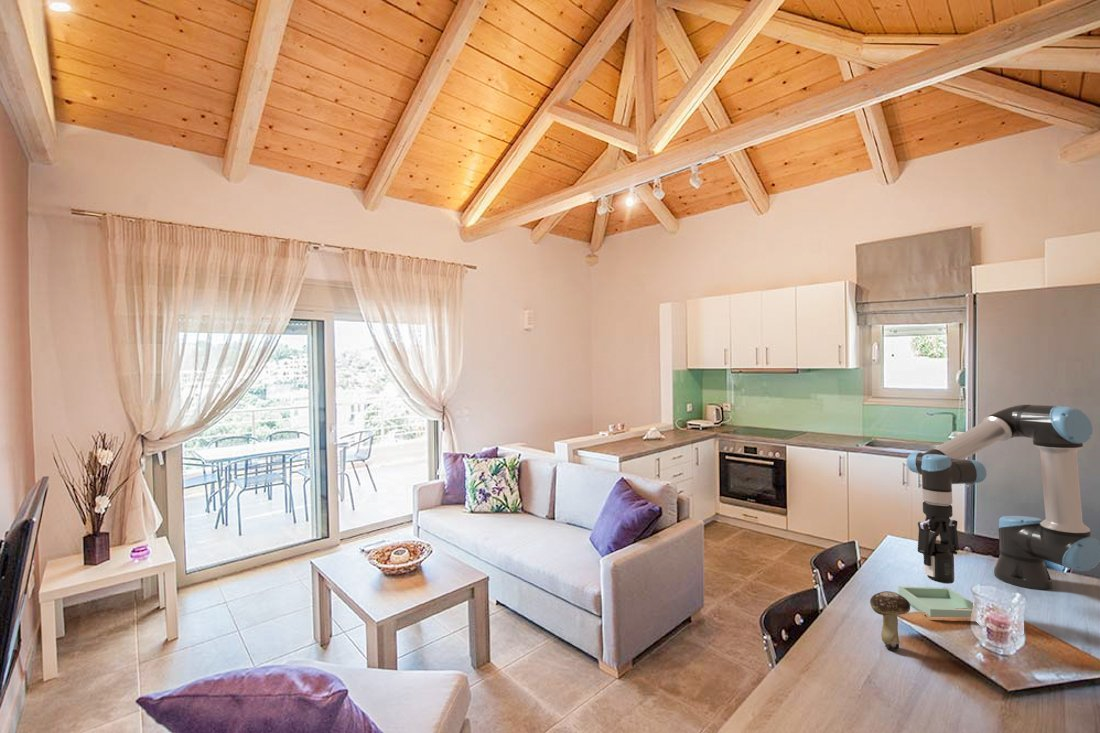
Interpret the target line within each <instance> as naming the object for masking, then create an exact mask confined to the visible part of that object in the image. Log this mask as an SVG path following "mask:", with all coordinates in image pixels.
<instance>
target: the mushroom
mask: <svg viewBox="0 0 1100 733" xmlns="http://www.w3.org/2000/svg"><path fill="white" fill-rule="evenodd" d="M869 601H870V602H869V603H870V607H871V610H872V611H874V612H875V613H876V614H878V615H881V616H882V627H881V628H882V629H881V635H880V636H881V640H882V642H883V644H884V646H885V649H887V650H889V651H895V652H896V651H897V652H898V650H899V649H900V639H899V628H898V626H899V619H898V616H900V615H905V614H908V613H909V612H910V611H911V606H910V603H909V602H908V601H907V599H905V598H904V597H902V596H901V595H899V593H897V592H895V591H891V590H889V591H888V590H885V591H884V590H883V591H881V592H878V593H875V594H873V595H872V596H871V598H870V600H869Z"/></svg>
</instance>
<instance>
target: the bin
mask: <svg viewBox="0 0 1100 733" xmlns="http://www.w3.org/2000/svg"><path fill="white" fill-rule="evenodd" d="M897 591H898V594H899V595H901V596H902V597H904V598H905V599H907V601H908V602H909V603H910V607H912V608H913V609H914V610H916V611H917V612H918V611H922V612H925V613H926V614H928V615H929V616H930V617H970V616H971V613H972V607H973V603H974V602H972V601H971V600H969V599H968V598H966V597H964V596H962V595H960V593H958V592H956V591H955V590H952V589H951V588H949V587H928V586H927V587H926V586H925V587H923V586H901V585H900V586H899V585H898V590H897ZM955 608H968V609H955Z"/></svg>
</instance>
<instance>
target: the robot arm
mask: <svg viewBox="0 0 1100 733" xmlns="http://www.w3.org/2000/svg"><path fill="white" fill-rule="evenodd" d="M1092 424H1093V423H1092V421H1091V419H1090V418H1089V416H1088V415H1087V414H1086V413H1085V412H1083V410H1080V409H1078V408H1076V407H1072V406H1071V407H1069V406H1063V405H1042V404H1040V405H1039V404H1038V405H1036V404H1035V405H1034V404H1019V405H1018V404H1017V405H1013V406H1010V407H1007V408H1003V409H1001V410H999V411H997V412H994V413H992V414H989V415H988V416H985V417H984V418H983V419H982V421H981V423H979V424H977V425H975V426H973V427H972V428H969V429H968V430H966V431H964V432H962V433H960V434H958V435H957V436H954V437H953V438H951V439H948V440H947V441H945V442H943V443H942V444H941V443H940V444H939V445H938V446H935V447H933V448H932V449H930V450H926V452H919V451H918V452H912V453H909V455H908V456H907V459H906V466H907V468H908V470H910V471H911V472H913V473H915V474H919V475H921V481H922V482H921V483H922V486H921V487H922V501H923V502H922V513H923V514H925V520H924V521H918V522H917V526H918V536H917V537H918V538H917V539H918V540H917V552H918V553H920V554H922V555H923V564H924V574H925V575H929V576H932V577H935V556H932V554H933V550H934V546H935V542H936V540H937V538H938V537H939V536H940V540H941V541H945V542H948V543H949V545H950V550H949V551H950V552H951V553H952V554H953V555H957V554H958V551H959V550H960V546H959V536H958V521H957V520H956V519H955V520H954V519H951V518H952V517H953V505H952V504H953V485H964V484H965V485H966V484H970V485H973V484H977V483H978V484H979V483H982V482H984V481H985V480H986V477H987V469H986V467H985V466H984V464H983V463H981V462H980V461H979V460H975V459H968V457H972V456H973V455H975V454H977V453H979V452H981V451H983V450H985V449H986V448H988V447H990V446H992V445H994V444H996V443H997V442H999V441H1000V442H1002V441H1004V442H1005V441H1009V440H1010V439H1012V438H1021V437H1022V438H1029V439H1032V445H1033V447H1035V448H1037V449H1038V450H1039V456H1040V464H1041V467H1040V468H1041V478H1042V490H1043V491H1042V492H1043V502H1044V504H1043V505H1044V513H1045V519H1044V520H1043V519H1042V518H1039V517H1034V516H1026V515H1025V516H1024V515H1003V516H1001V517H1000V518H999V519H998V540H999V541H998V542H999V557H998V559H997V561H996V564H995V566H994V569H993V574H994V577H995V578H996V579H999V580H1000V581H1002V582H1004V583H1008V584H1011V585H1014V586H1018V587H1022V588H1026V589H1027V588H1028V589H1034V590H1050V589H1052V588H1053V581H1052V580H1053V579H1052V578H1051V575H1050V573H1049V570H1048V569H1047V566H1046V563H1045V561H1046V562H1047V561H1048V562H1051V563H1053V564H1055V565H1059V566H1062V567H1064V568H1066V569H1067V568H1068V569H1071V570H1075V571H1080V572H1087V571H1091V570H1093V569H1094V568H1096V567H1097V566H1098V564H1100V541H1099V540H1098V539H1097V538H1095V537H1093V536H1092V535H1091V529H1090V527H1088V526H1087V525H1085V523H1084V522H1083V512H1082V511H1083V510H1082V501H1081V500H1082V499H1081V498H1082V497H1081V488H1080V487H1081V486H1080V475H1079V464H1078V453H1077V452H1078V451H1080V450H1081V449H1082V448H1084V446H1083V444H1085V443H1087V442H1088V441H1089V440H1091V437H1092V435H1093V430H1094V429H1093V425H1092ZM928 551H929V552H928Z"/></svg>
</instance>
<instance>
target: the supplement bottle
mask: <svg viewBox="0 0 1100 733" xmlns="http://www.w3.org/2000/svg"><path fill="white" fill-rule="evenodd" d="M949 550H950V545H949V543H948V542H945V541H941V539H940V540H939V539H936V542H935V546H934V550H933V554H932V556H935V577H932V576H929V575H927V574H926V575H927V577H928V579H929V580H931V581H934V582H936V583H940V584H947V585H948V584H949V585H951V584H953V583H954V582H955V556H954V555H955V554H952V553H951V552H950V551H949ZM928 552H929V551H928Z"/></svg>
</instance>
